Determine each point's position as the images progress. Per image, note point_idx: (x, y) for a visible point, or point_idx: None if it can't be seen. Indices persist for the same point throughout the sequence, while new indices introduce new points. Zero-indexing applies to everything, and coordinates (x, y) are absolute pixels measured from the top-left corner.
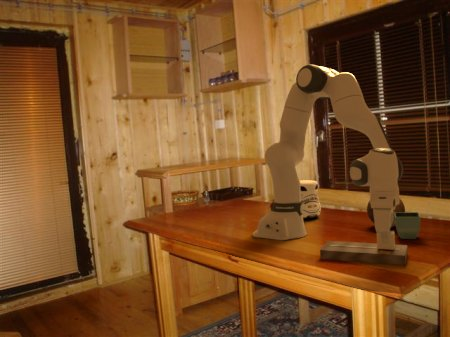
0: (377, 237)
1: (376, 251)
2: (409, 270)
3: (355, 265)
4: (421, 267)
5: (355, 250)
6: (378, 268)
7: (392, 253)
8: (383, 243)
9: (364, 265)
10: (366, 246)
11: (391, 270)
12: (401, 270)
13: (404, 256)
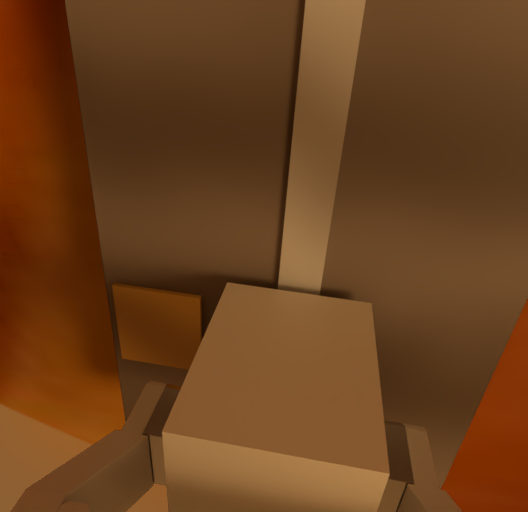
0: (187, 384)
1: (178, 263)
2: (69, 385)
3: (6, 30)
4: None
5: (153, 11)
6: (22, 227)
7: (155, 376)
8: (155, 385)
9: (44, 119)
10: (383, 158)
11: (23, 301)
12: (50, 351)
13: None
